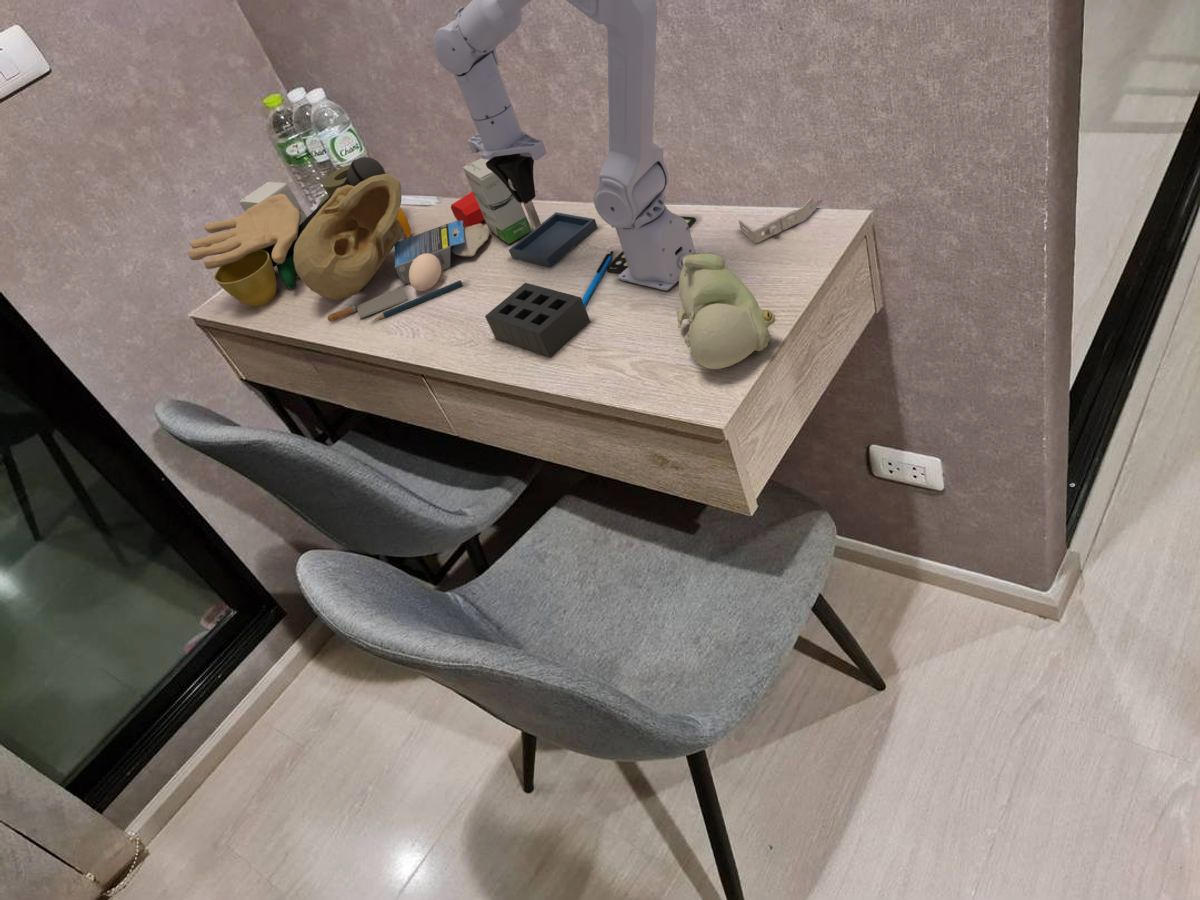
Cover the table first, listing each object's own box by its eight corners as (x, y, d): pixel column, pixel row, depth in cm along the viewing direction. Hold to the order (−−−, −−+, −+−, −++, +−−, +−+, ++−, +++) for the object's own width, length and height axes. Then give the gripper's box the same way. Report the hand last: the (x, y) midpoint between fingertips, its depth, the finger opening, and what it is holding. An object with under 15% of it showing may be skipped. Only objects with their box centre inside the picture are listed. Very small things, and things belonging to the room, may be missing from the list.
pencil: (462, 284, 134) (374, 321, 134) (463, 286, 135) (376, 322, 135) (460, 279, 134) (372, 316, 134) (461, 281, 135) (374, 317, 135)
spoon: (546, 221, 128) (523, 162, 122) (531, 233, 127) (507, 174, 121) (543, 221, 129) (520, 162, 123) (528, 233, 127) (504, 174, 121)
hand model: (278, 187, 157) (187, 250, 154) (265, 169, 153) (171, 233, 150) (325, 241, 149) (229, 309, 146) (312, 223, 145) (213, 292, 142)
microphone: (307, 254, 151) (386, 181, 145) (281, 224, 149) (359, 149, 143) (322, 248, 157) (398, 178, 151) (296, 219, 156) (372, 147, 149)
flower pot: (258, 320, 149) (237, 286, 144) (225, 311, 154) (203, 278, 149) (299, 286, 154) (280, 253, 149) (265, 279, 159) (245, 246, 154)
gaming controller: (334, 269, 158) (315, 245, 159) (332, 260, 155) (312, 235, 155) (292, 296, 156) (272, 271, 156) (288, 287, 152) (268, 261, 152)
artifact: (453, 242, 147) (455, 269, 139) (446, 228, 145) (448, 255, 138) (490, 227, 146) (494, 253, 139) (484, 213, 145) (487, 239, 137)
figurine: (698, 326, 91) (790, 322, 92) (678, 236, 102) (760, 233, 103) (690, 393, 99) (775, 389, 100) (672, 303, 110) (748, 300, 110)
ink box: (533, 231, 140) (506, 164, 132) (507, 245, 139) (479, 179, 131) (513, 216, 146) (486, 152, 139) (488, 230, 145) (460, 166, 138)
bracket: (833, 173, 120) (738, 220, 119) (855, 187, 115) (756, 235, 115) (835, 185, 121) (741, 231, 120) (857, 199, 116) (759, 247, 116)
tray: (597, 227, 134) (594, 218, 133) (550, 267, 130) (546, 258, 129) (559, 220, 140) (555, 212, 139) (512, 258, 136) (508, 249, 135)
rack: (590, 321, 116) (581, 297, 113) (550, 357, 112) (539, 333, 110) (535, 305, 123) (525, 282, 121) (495, 338, 120) (484, 316, 117)
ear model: (368, 143, 136) (326, 213, 151) (304, 213, 125) (266, 282, 140) (433, 195, 140) (386, 258, 155) (377, 269, 129) (332, 329, 144)
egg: (427, 242, 135) (410, 274, 132) (452, 260, 137) (436, 292, 134) (413, 252, 138) (397, 284, 136) (437, 270, 141) (422, 301, 138)
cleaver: (409, 303, 137) (404, 289, 141) (406, 296, 136) (401, 282, 140) (332, 335, 136) (329, 320, 140) (328, 329, 135) (325, 314, 139)
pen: (615, 254, 127) (613, 248, 126) (570, 334, 115) (567, 328, 114) (610, 254, 127) (608, 248, 126) (564, 335, 115) (562, 328, 115)
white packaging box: (294, 262, 162) (257, 203, 154) (273, 258, 166) (236, 201, 158) (322, 241, 165) (287, 182, 157) (302, 237, 170) (267, 180, 162)
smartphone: (698, 217, 127) (644, 274, 119) (699, 221, 127) (645, 278, 120) (657, 214, 131) (603, 269, 124) (659, 218, 131) (604, 273, 124)
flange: (396, 158, 151) (358, 150, 161) (328, 201, 146) (292, 190, 156) (408, 181, 154) (370, 172, 164) (341, 225, 149) (306, 213, 159)
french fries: (474, 231, 147) (530, 198, 150) (465, 211, 144) (522, 177, 147) (453, 220, 153) (508, 188, 156) (444, 200, 150) (500, 168, 154)
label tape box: (403, 285, 140) (473, 262, 140) (393, 264, 138) (464, 241, 137) (403, 260, 147) (470, 238, 147) (393, 240, 144) (461, 217, 144)
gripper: (439, 122, 119) (477, 208, 128) (504, 127, 110) (541, 219, 119) (474, 98, 122) (509, 183, 131) (541, 101, 113) (574, 193, 121)
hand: (526, 199), depth 125 cm, fingers closed on spoon, 1 cm apart
